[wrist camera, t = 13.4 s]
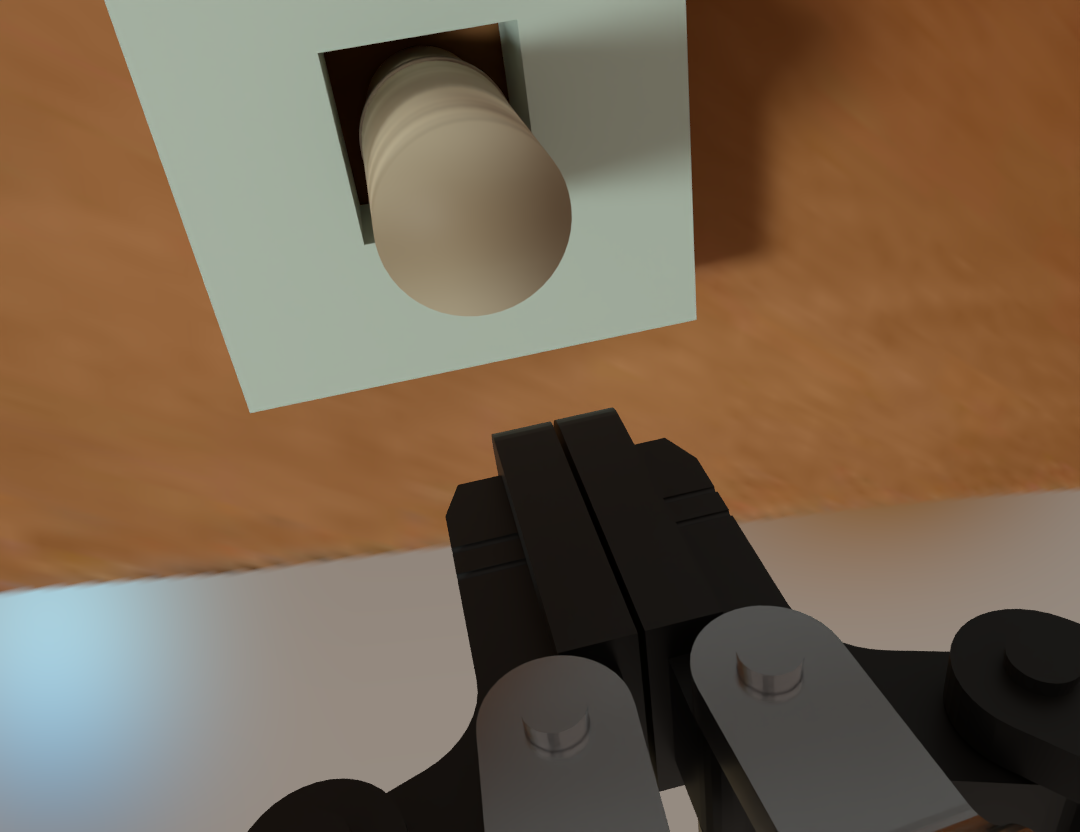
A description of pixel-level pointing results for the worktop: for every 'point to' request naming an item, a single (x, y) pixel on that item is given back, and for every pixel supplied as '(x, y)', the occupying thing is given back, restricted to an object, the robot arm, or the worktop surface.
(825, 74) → the worktop surface
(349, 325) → the board
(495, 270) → the peg
